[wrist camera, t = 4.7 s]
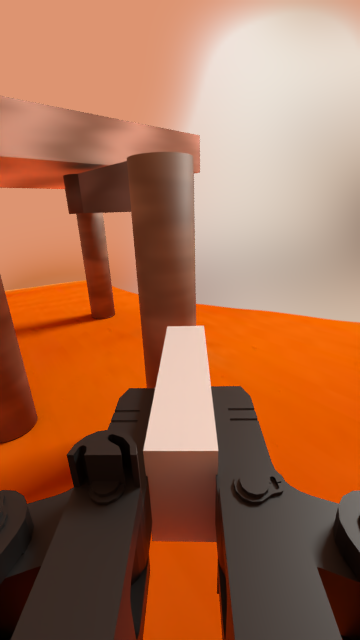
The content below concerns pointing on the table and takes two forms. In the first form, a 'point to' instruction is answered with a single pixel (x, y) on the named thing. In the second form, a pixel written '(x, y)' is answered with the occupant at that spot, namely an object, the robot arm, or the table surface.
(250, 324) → the table surface
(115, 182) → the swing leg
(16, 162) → the stool
